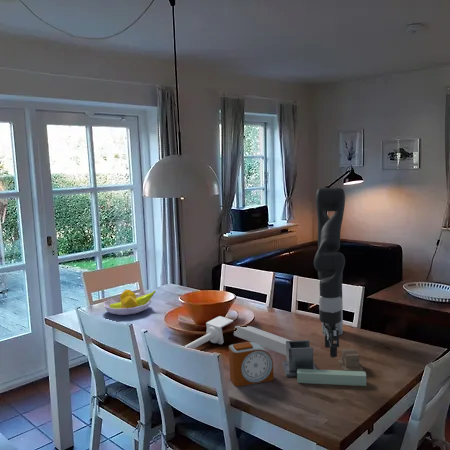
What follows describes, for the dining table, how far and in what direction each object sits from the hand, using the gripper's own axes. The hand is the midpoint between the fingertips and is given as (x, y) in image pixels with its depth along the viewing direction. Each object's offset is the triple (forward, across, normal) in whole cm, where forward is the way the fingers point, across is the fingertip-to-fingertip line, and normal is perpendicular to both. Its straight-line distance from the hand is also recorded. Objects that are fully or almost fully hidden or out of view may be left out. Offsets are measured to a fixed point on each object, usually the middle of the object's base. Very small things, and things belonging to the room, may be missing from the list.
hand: (330, 352), depth 166 cm
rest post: (+11, -11, +10) cm, 19 cm away
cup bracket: (+11, -11, -10) cm, 19 cm away
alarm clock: (+12, -5, -28) cm, 31 cm away
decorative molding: (+12, -40, -19) cm, 46 cm away
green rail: (+12, 0, 0) cm, 12 cm away
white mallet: (+12, -37, -48) cm, 62 cm away
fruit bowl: (+11, -92, -90) cm, 130 cm away
